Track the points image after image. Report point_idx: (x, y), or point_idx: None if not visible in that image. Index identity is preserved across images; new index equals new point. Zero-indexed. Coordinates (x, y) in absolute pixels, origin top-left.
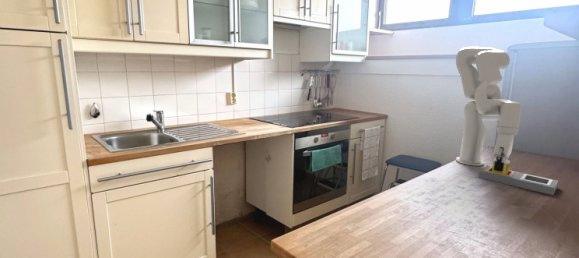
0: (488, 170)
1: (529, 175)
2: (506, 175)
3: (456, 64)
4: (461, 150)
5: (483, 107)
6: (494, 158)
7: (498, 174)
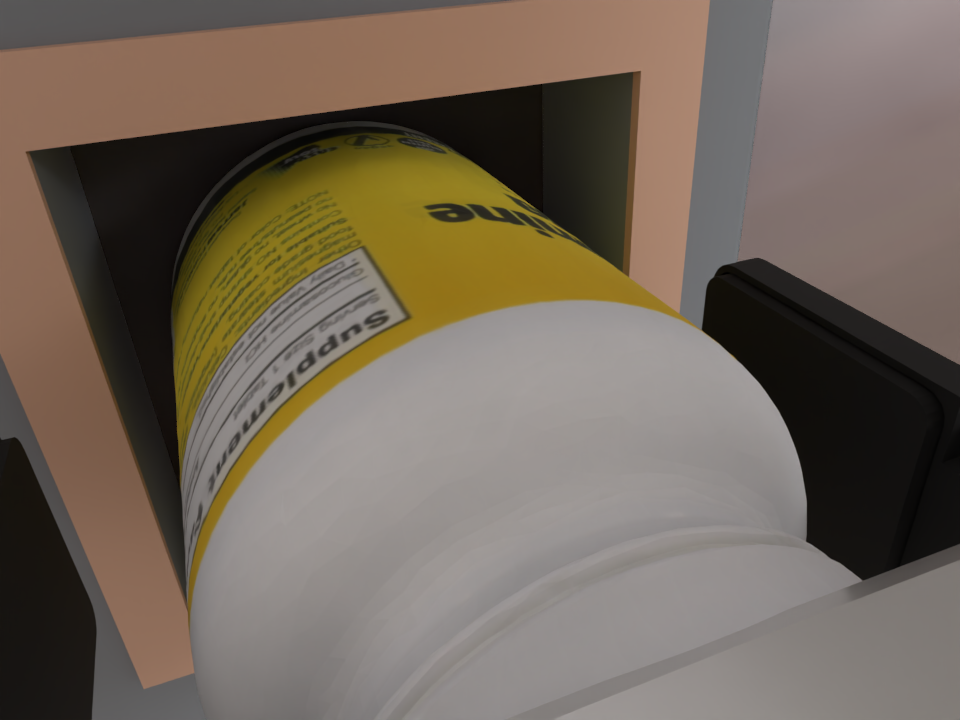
0: (125, 137)
1: None
2: (141, 620)
3: None
4: None
5: None
6: (509, 406)
7: (42, 480)
